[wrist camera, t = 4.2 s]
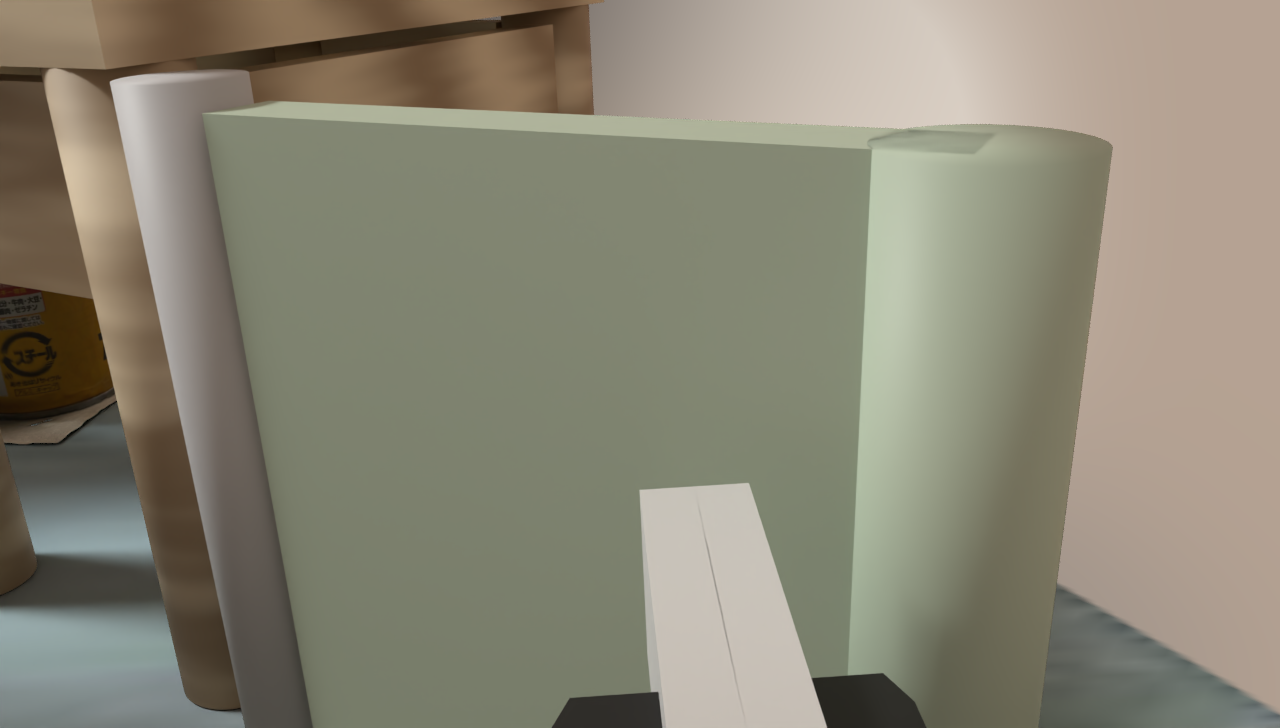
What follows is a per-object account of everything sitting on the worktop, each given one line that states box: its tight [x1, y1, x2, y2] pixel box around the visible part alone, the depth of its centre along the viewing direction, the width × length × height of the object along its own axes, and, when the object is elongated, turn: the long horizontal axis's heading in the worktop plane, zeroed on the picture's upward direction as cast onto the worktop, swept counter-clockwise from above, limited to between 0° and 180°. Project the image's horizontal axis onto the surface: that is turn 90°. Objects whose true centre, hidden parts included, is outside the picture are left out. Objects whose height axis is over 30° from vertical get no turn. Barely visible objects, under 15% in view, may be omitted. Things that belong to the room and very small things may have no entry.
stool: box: [0, 0, 604, 710], centre depth 34 cm, size 20×14×18 cm
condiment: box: [0, 283, 117, 444], centre depth 44 cm, size 7×8×12 cm
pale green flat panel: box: [110, 69, 1113, 728], centre depth 19 cm, size 17×3×15 cm, turn 63°
